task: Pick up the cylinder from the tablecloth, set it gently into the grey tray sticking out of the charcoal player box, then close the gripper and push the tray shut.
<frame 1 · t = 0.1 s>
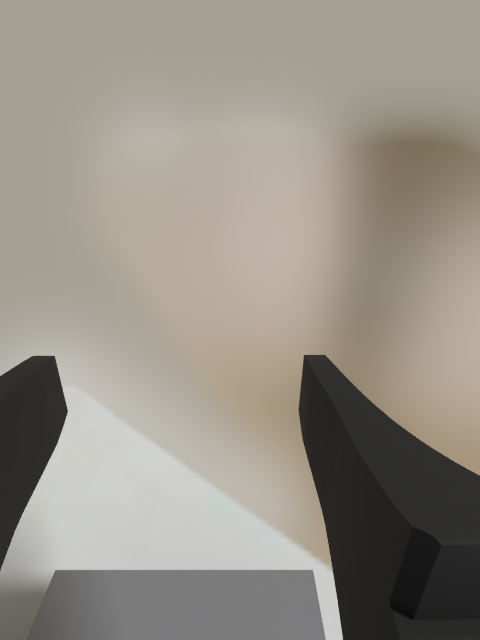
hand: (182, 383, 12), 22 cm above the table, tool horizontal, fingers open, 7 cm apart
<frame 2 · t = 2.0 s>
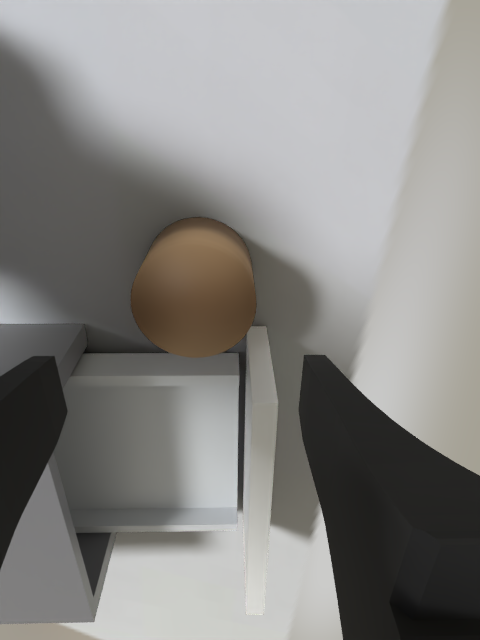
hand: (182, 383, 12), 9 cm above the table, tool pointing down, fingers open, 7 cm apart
tray: (136, 478, 22), point 3 cm above the table, slide at 8.0 cm
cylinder: (199, 268, 20), on the table
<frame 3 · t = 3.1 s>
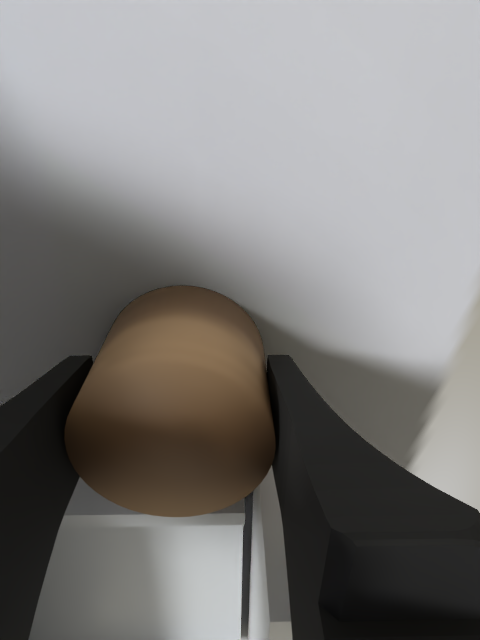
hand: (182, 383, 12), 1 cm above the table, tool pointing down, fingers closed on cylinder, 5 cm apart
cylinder: (186, 356, 14), on the table, touching gripper
when the fingers open (4 cm above the table, at t = 6.8 s): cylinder drops 1 cm, resting on tray.
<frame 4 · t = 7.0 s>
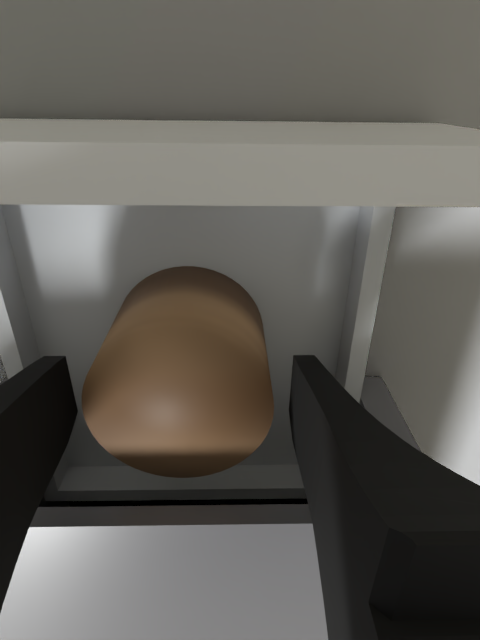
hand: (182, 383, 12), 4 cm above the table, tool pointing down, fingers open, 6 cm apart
tray: (183, 375, 13), point 3 cm above the table, slide at 8.0 cm, touching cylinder
housing: (200, 496, 20), on the table
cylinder: (190, 334, 15), point 1 cm above the table, touching tray
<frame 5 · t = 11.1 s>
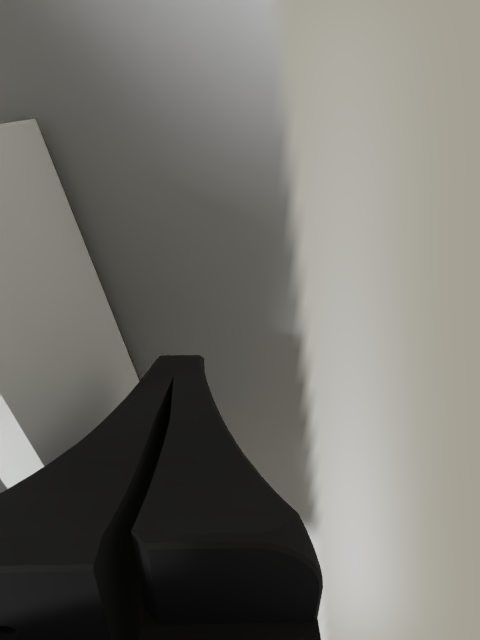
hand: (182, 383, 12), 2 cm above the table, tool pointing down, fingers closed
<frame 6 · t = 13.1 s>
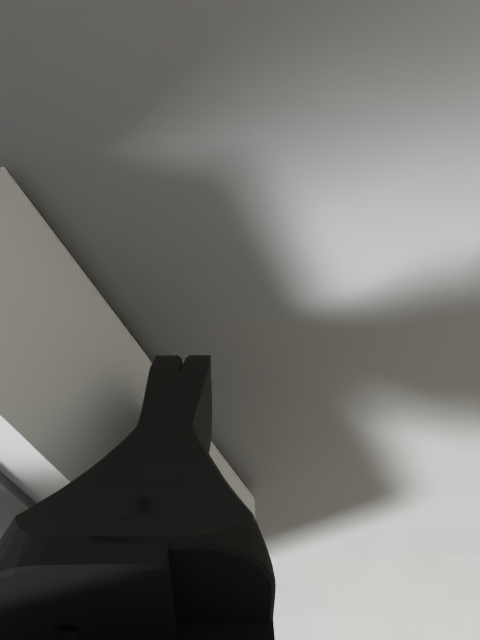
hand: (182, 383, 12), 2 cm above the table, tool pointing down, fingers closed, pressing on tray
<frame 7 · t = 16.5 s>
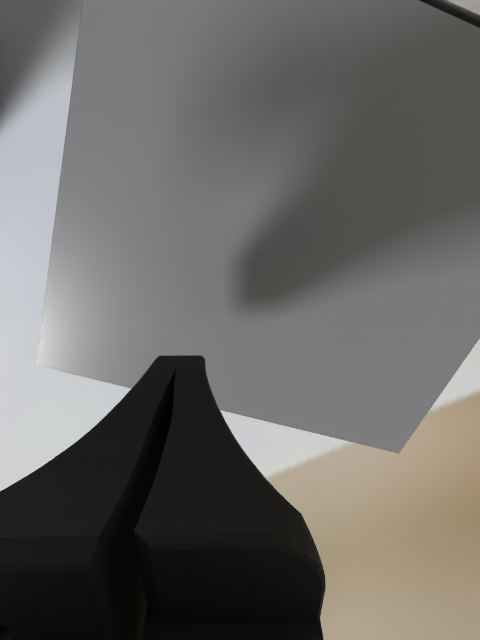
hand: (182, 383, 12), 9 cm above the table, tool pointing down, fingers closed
tray: (301, 186, 16), point 3 cm above the table, slide at 0.0 cm, touching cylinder
housing: (278, 204, 19), on the table
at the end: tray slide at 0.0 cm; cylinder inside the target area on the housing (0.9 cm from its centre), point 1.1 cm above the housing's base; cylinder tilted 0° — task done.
